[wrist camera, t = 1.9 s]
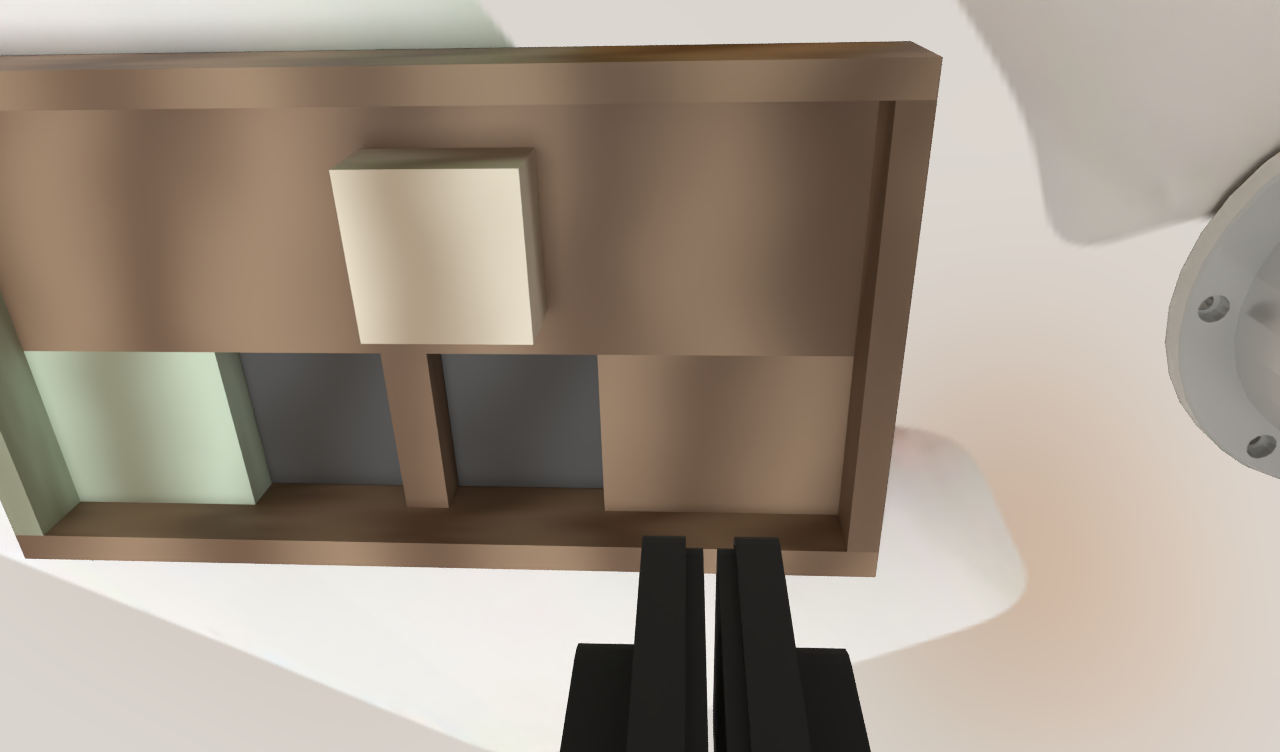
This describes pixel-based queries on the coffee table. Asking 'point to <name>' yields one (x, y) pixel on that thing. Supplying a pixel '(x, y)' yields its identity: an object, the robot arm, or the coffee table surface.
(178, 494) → the box
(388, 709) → the coffee table surface
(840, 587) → the coffee table surface
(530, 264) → the block
